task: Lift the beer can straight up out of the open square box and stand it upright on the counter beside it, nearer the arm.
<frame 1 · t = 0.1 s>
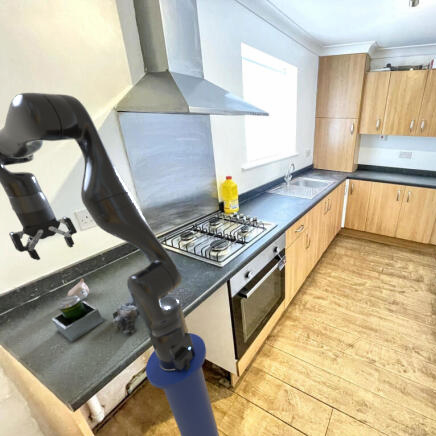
hand: (55, 252, 77), 26 cm above the worktop, tool pointing down, fingers open, 8 cm apart
open square box: (81, 326, 82), on the worktop
garlic bulb: (81, 298, 94), on the worktop
foil: (132, 318, 85), on the worktop
beer can: (81, 326, 82), resting in open square box
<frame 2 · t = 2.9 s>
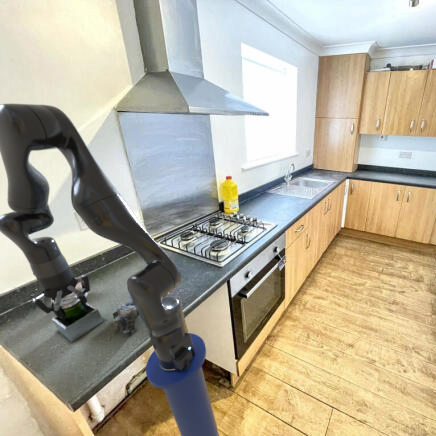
hand: (73, 310, 78), 7 cm above the worktop, tool pointing down, fingers closed on beer can, 5 cm apart
beer can: (81, 326, 82), resting in open square box, touching gripper
everything else where it was.
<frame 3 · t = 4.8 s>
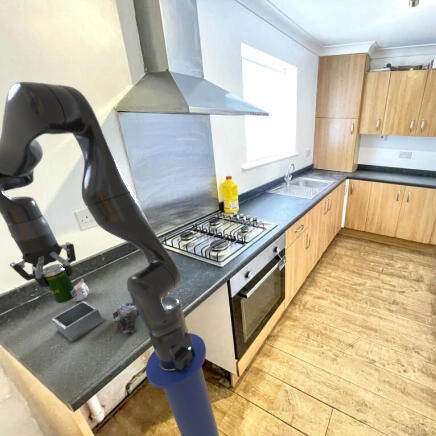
hand: (57, 280, 73), 20 cm above the worktop, tool pointing down, fingers closed on beer can, 5 cm apart
beer can: (67, 299, 76), point 13 cm above the worktop, touching gripper
everything else where it was.
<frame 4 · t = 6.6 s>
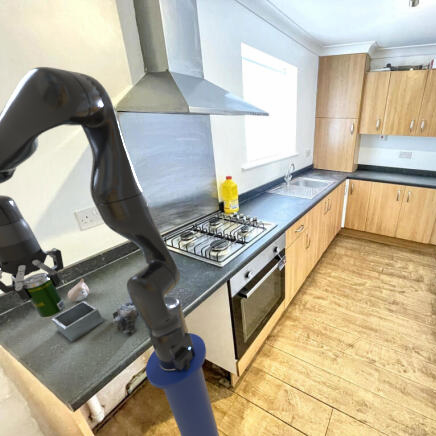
hand: (42, 291, 64), 23 cm above the worktop, tool pointing down, fingers closed on beer can, 5 cm apart
beer can: (54, 312, 67), point 16 cm above the worktop, touching gripper
everything else where it was.
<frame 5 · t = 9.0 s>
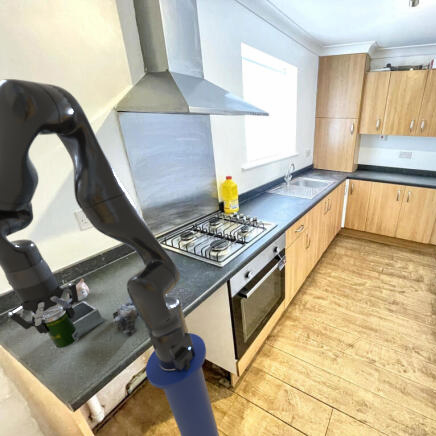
hand: (58, 323, 68), 12 cm above the worktop, tool pointing down, fingers closed on beer can, 5 cm apart
beer can: (69, 341, 71), point 4 cm above the worktop, touching gripper
everything else where it was.
when the fingers open (7 cm above the worktop, at t = 10.6 s): beer can stays where it is, on the worktop.
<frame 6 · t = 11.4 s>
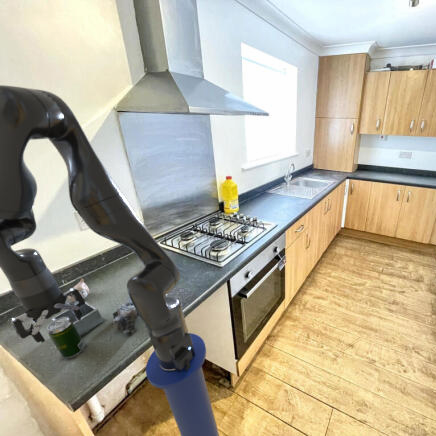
hand: (61, 329, 69), 10 cm above the worktop, tool pointing down, fingers open, 8 cm apart
beer can: (74, 351, 73), on the worktop
everything else where it was.
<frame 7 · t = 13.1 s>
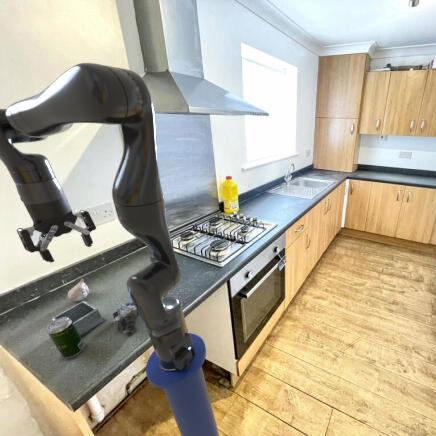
hand: (71, 253, 64), 33 cm above the worktop, tool pointing down, fingers open, 8 cm apart
nothing on the worktop moved.
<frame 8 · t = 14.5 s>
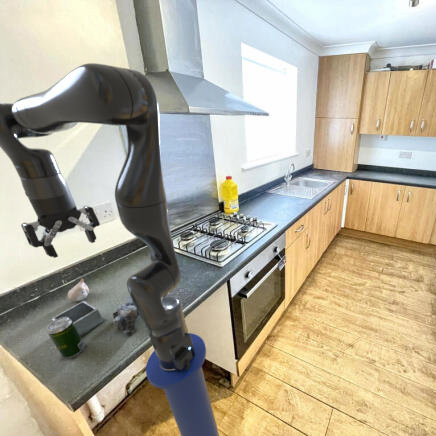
hand: (74, 248, 64), 34 cm above the worktop, tool pointing down, fingers open, 8 cm apart
nothing on the worktop moved.
at the end: beer can inside the target area (0.0 cm from its centre), on the worktop; beer can tilted 0°; the gripper is holding nothing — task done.
